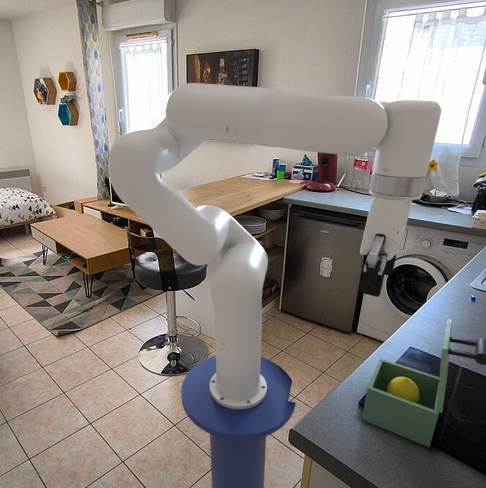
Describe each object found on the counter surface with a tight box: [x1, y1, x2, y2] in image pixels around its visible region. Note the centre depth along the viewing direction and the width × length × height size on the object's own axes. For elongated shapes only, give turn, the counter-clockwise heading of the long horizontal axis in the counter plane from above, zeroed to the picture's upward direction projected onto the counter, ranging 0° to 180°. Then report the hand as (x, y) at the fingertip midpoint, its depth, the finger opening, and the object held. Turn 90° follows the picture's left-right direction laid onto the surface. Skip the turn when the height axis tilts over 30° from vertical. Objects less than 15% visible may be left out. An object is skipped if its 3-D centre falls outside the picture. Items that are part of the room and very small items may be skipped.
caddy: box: [361, 357, 440, 448], centre depth 69 cm, size 11×10×8 cm
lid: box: [437, 318, 486, 414], centre depth 61 cm, size 12×10×6 cm
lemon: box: [386, 377, 419, 404], centre depth 69 cm, size 6×6×8 cm
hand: (376, 283), depth 63 cm, fingers open, 9 cm apart
